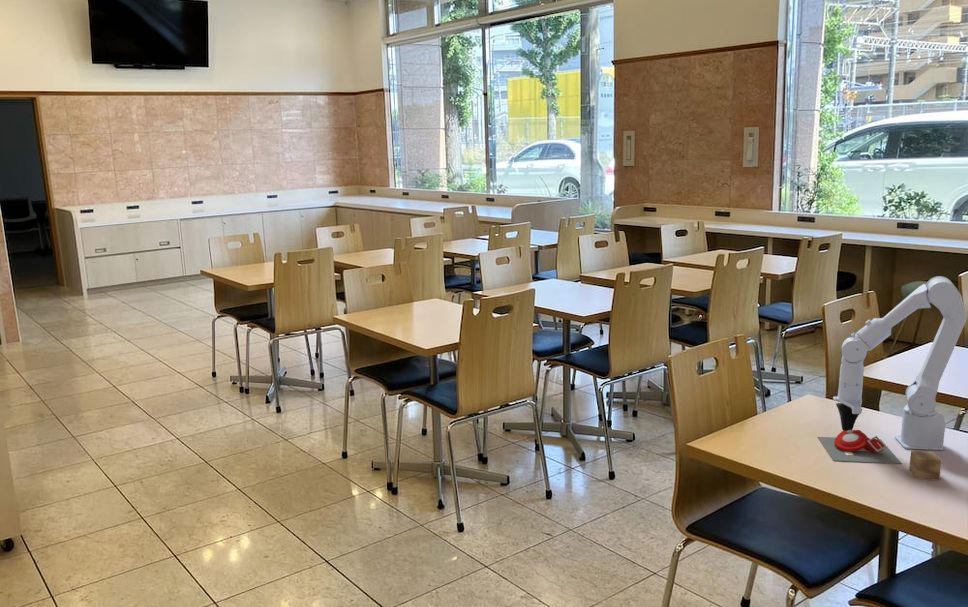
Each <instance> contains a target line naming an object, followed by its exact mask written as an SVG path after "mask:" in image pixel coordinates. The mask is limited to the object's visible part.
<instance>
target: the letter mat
mask: <svg viewBox="0 0 968 607" xmlns="http://www.w3.org/2000/svg"><path fill="white" fill-rule="evenodd" d="M836 437H837V436H835V437H834V436H833V437H832V436H817V439H818V441H820V443H821V445H822V446H823V447H824V449H825V451H826V452H827V454H828V456H829V457H830V458H831V460H832V461H833V462H846V463H848V462H849V463H870V464H871V463H872V464H888V465H889V464H891V465H902V462H901V461H900V459H899V458H898V457H897V456H896V455H895V454H894V453H893V452H892V450H891V449H890V448H889V447H888V446H887V444H886V443H885V442H884V441H883V440H882V439H881V438H879V439H880V440H881V441H882V442H883V443H884V445H885V446H886V447H887V448H885V449H884V450H883V451H881V452H879V453H873V452H871V451H868V450H867V449H865V448H863V449H861V450H858V451H853V452H847V451H842V450H839V449H838V448H836V447H835V444H834V440H835V438H836ZM876 439H877V438H876ZM877 440H878V439H877Z"/></svg>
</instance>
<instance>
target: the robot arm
mask: <svg viewBox="0 0 968 607" xmlns="http://www.w3.org/2000/svg"><path fill="white" fill-rule="evenodd" d="M931 304H932V305H934V306H935V307H936V308H937V309H938V310H939V312H940V313H941V315H942V317H943V318H942V320H941V322H940V325H939V328H938V330H937V331H936V334H935V336H934V339H933V341H932V343H931V345H930V348H929V350H928V353H927V355H926V357H925V360H924V362H923V365H922V367H921V369H920V372H919V373H918V374H917V375H916V376H915V379H914V380H913V382H912V383H910V384H909V385H908V386H907V388H906V390H905V397H906V400H907V404H906V405H905V406H904V407H903V410H902V420H901V421H902V422H901V431H900V432H901V433H900V435H895V436H894V438H895V440H897V441H898V443H899V444H900V445H901V447H903V448H904V449H907V450H908V449H909V450H932V451H943V450H945V448H944V442H945V441H944V439H945V431H946V421H945V416H944V415H943V413H942V412H940V411H939V412H937V411H935V409H936V406H937V402H936V397H937V394H938V391H939V390H938V389H939V386H940V381H941V379H942V377H943V374H944V373H945V370H946V367H947V365H948V363H949V361H950V358H951V357H952V354H953V352H954V349H955V347H956V345H957V342H958V340H959V338H960V336H961V334H962V331H963V329H964V327H965V325H966V322H967V319H968V315H967V312H966V308H965V304H964V301H963V297H962V295H961V292H959V289H958V288H957V287H956V286H955V284H954V283H953V282H952V281H951V280H950V279H949V278H948V277H945V276H941V275H939V276H933V277H931V278H929V280H928V281H927V282H926V283H923V284H921V285H920V286H919V287H917V288H916V289H915V290H913V291H912V292H911V293H910V294H909V295H907V296H906V297H905V298H904V299H903V300H902V301H901V302H899V303H898V304H897V305H896V306H894V307H893V309H892V310H890V311H889V312H888V313H887V314H886V315H885V316H883V317H881V318H880V317H879V318H878V317H875V318H872V320H871V319H867V321H865V325H864V326H863V327H862V328H860V329H858V331H856V333H855V332H852V333H851V334H850V337H848V338H845V339H844V341H843V342H842V345H841V346H840V347H841V355H842V357H841V360H840V362H841V364H840V368H839V382H838V389H837V390H838V391H837V396H833V397H832V399H833V401H834V402H837V403H836V404H835V406H836V407H837V409H838V413H839V418H840V424H841V429H842V431H848V430H853V429H854V426H855V424H856V421H857V419H858V417H859V415H862V412H863V408H862V403H863V399H862V396H863V383H864V372H865V370H864V369H865V367H864V360H865V358H866V357H867V352H870V351H872V350H873V349H875V348H876V347H877V346H879V345H880V344H881V343H883V342H884V341H885V340H886V339H887V338H889V337H890V336H892V328H893V327H895V326H896V325H898V324H899V323H900V322H901V321H904V319H905V318H907V317H908V316H910V315H911V314H912V313H914V312H915V311H917V310H918V309H931V308H932V306H931Z"/></svg>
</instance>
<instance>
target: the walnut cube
mask: <svg viewBox="0 0 968 607" xmlns="http://www.w3.org/2000/svg"><path fill="white" fill-rule="evenodd" d="M941 468H942V459H941V458H940V457H939V456H938V455H937V454H936V453H935V451H921V450H920V451H917V450H914V451H913V450H911V451H910V458H909V468H908V471H909V473H911V474H912V475H913V476H914V478H915V479H916V480H931V481H932V480H933V481H934V480H935V481H940V478H941Z"/></svg>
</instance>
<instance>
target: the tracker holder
mask: <svg viewBox="0 0 968 607" xmlns="http://www.w3.org/2000/svg"><path fill="white" fill-rule="evenodd" d="M835 437H836V438H835V440H834V444H835V447H836V448H838V449H839V450H842V451H847V452H853V451H858V450H861V449H863V448H865V449H867V450H868V451H871V452H873V453H879V452H881V451H883V450H884V449H885V448H887V447H888V446H887V445H886V444H885V445H886V446H887V447H886V446H885V445H884V443H885V442H884V441H883V440H882V439H881V438H879V437H878V436H877V435H876V436H873V437H871V438H870V437H869V436H867V435H866V434H865V433H864V432H863V431H862V430H860V429H854V430H853V429H852V430H848V431H843V430H842V431H841V432H840V433H839V434H837V436H835ZM877 439H878V440H877ZM880 439H881V440H882V441H883V442H884V443H883V442H882V441H881V440H880Z"/></svg>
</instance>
